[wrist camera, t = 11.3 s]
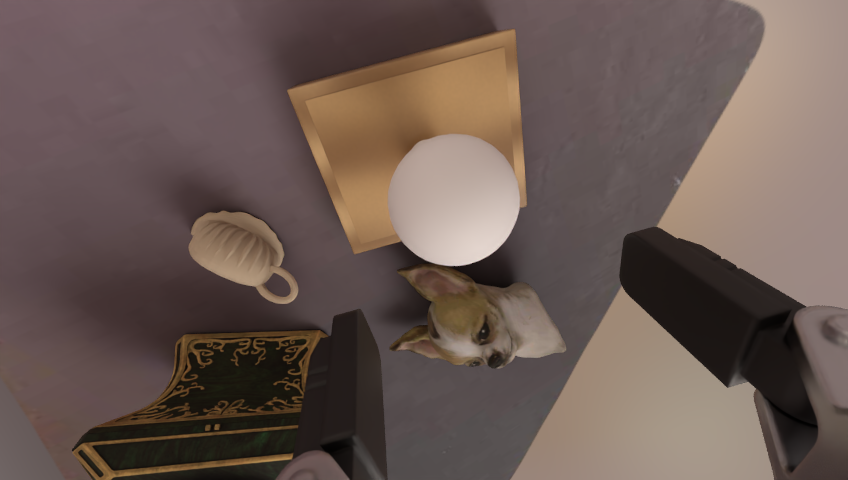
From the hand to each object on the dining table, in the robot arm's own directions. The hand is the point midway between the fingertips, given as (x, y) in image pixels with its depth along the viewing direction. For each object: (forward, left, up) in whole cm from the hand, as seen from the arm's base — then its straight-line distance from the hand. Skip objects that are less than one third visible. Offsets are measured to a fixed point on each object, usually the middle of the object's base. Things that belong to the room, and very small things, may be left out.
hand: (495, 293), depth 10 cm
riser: (0, 0, -18) cm, 18 cm away
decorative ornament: (+4, -15, -18) cm, 24 cm away
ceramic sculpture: (+16, +1, -18) cm, 24 cm away
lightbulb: (0, 0, -15) cm, 15 cm away
